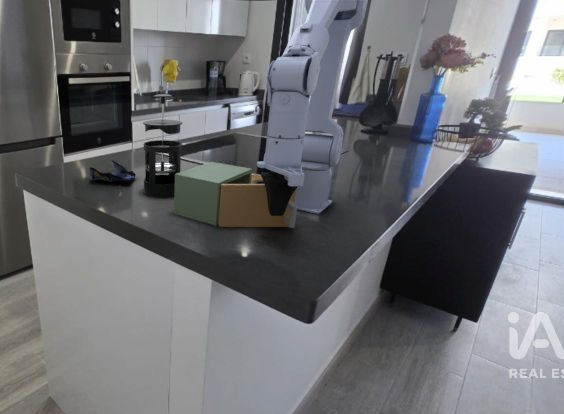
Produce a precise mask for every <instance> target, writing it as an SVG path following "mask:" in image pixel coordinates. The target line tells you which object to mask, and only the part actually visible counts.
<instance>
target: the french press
mask: <svg viewBox="0 0 564 414" xmlns="http://www.w3.org/2000/svg"><path fill="white" fill-rule="evenodd" d="M172 97H173V95H172V94H167V93H159V94H155V95H153V98H160V104H161V119H152V120H146V121H143V122H142V124H143V126H144V131H145V133H147V132H148V131H153V130H155V131H156V130H160V131H161V139H159V140H157V139H156V140H149V141H145V142H143V151H144V161H145V162H144V174H145V177H144V178H143V189H142V194H143V195H144V196H146V197H148V198H154V199H172V198H175V174H177V173H180V172H181V160H182V159H181V158H182V157H181V156H182V150H183V143H182V142H181V141H180V140H174V139H172V140H168V139H164V135H165V134H167V135H175V134H180V133H181V125H183V122H182V121H180V120H174V119H165V118H164V114H165V109H164V108H165V104H166V98H172ZM164 133H165V134H164ZM164 146H165V147H164ZM157 154H161V162H156V160H157V159H156V158H157V156H156V155H157ZM164 154H168V162H164Z"/></svg>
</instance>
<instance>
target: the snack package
mask: <svg viewBox="0 0 564 414" xmlns="http://www.w3.org/2000/svg"><path fill="white" fill-rule="evenodd" d="M109 161H111V166H112V168H113V169H114V170H116V171H115V172H113V171H111V172H101V171H99V170H97V169H96V168H95V167H92V166H90V167H89V172H88V173H89V174H88V175H89V177H90V179H91V181H93V180H100V181H105V182H120V181H123V182H126V183H130V182H132V181H134V180H135V179H136V176H137V174H136V173H135V172H134V171H133V170H130V171H128V168H127V166H126V165H124V164H123V163H121V162H118V161H117V160H114V159H109ZM106 169H107V170H108V169H109V167H106Z"/></svg>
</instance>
